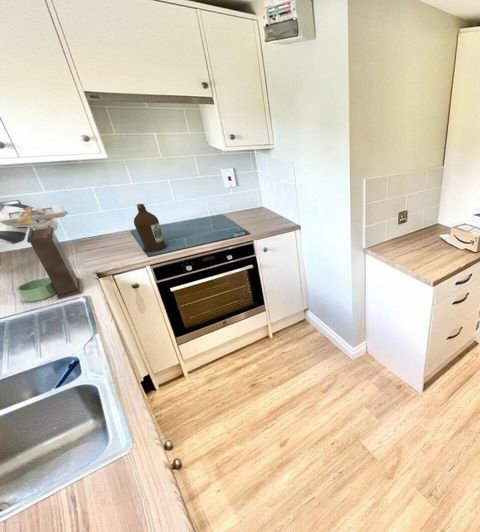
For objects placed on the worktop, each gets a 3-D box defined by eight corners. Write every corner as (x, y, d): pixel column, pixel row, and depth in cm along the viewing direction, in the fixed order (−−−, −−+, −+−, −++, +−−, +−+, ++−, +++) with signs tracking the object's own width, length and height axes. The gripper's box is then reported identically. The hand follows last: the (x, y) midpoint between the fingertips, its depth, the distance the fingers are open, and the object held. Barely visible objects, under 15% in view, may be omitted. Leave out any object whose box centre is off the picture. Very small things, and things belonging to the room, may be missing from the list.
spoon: (19, 225, 124) (16, 220, 123) (25, 211, 139) (22, 207, 138) (32, 223, 126) (30, 218, 125) (36, 209, 141) (34, 205, 140)
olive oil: (139, 252, 174) (122, 207, 163) (151, 244, 183) (135, 201, 172) (160, 251, 175) (144, 207, 163) (170, 244, 184) (156, 201, 173)
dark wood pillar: (58, 299, 133) (25, 238, 120) (59, 285, 142) (28, 227, 130) (81, 293, 137) (51, 234, 125) (80, 279, 147) (52, 224, 134)
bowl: (22, 305, 128) (15, 293, 126) (24, 294, 135) (18, 283, 132) (58, 296, 135) (52, 285, 132) (59, 286, 141) (53, 275, 139)
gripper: (71, 220, 154) (64, 212, 143) (8, 229, 142) (-5, 221, 131) (66, 207, 154) (59, 198, 143) (2, 216, 141) (-11, 207, 130)
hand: (28, 209), depth 137 cm, fingers closed on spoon, 2 cm apart
